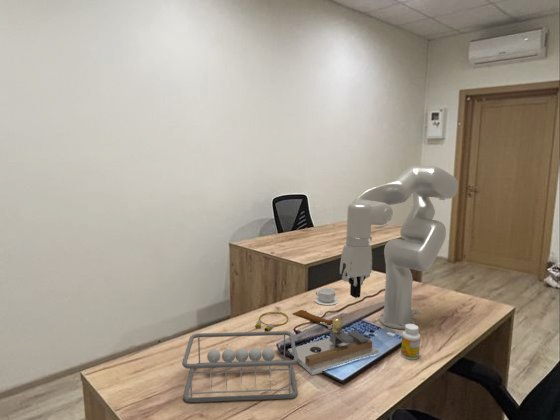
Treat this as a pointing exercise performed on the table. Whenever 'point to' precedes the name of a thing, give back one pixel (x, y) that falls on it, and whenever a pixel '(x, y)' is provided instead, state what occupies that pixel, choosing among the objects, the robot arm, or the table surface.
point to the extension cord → (269, 324)
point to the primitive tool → (312, 317)
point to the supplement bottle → (410, 342)
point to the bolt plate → (331, 362)
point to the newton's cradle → (241, 356)
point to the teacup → (326, 296)
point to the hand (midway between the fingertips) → (355, 296)
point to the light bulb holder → (338, 333)
